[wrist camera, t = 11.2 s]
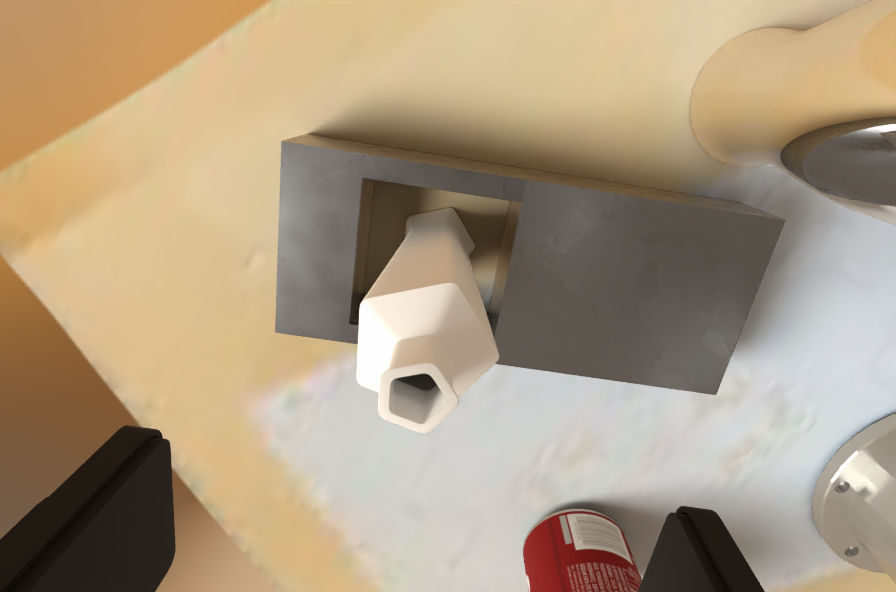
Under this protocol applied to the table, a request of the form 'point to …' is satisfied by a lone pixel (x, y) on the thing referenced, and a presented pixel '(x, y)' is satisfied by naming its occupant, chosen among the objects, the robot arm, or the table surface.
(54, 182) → the table surface
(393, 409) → the perfume bottle
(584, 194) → the grey block with hole
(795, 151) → the beer glass
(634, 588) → the soda can
